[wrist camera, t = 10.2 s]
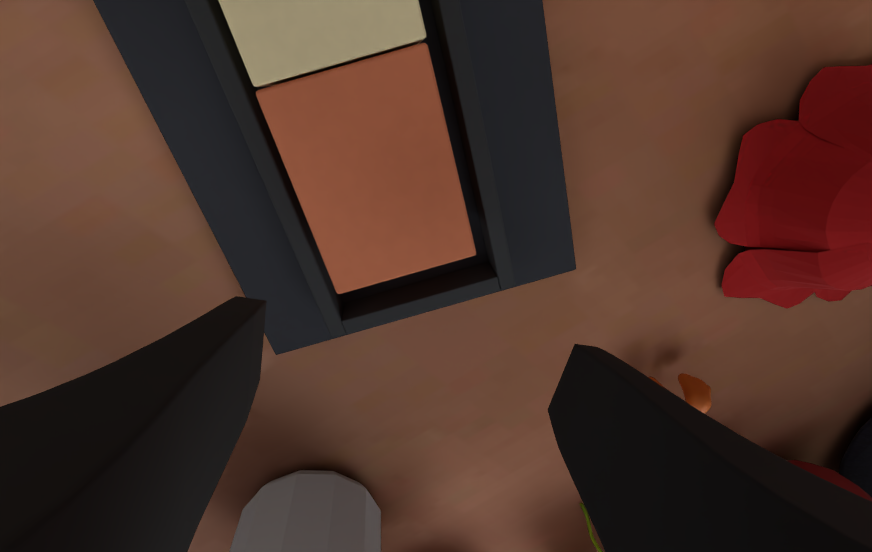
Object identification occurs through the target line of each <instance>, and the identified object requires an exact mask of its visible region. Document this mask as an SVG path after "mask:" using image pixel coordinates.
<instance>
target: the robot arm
mask: <svg viewBox="0 0 872 552" xmlns="http://www.w3.org/2000/svg"><path fill="white" fill-rule="evenodd" d="M265 313H266V300H259V299H252V298H245V297H237V296H236V297H234V298H232V299H230V300H228V301H226V302H225V303H223V304H221V305H220V306H218V307H216V308H214V309H213V310H211V311H209V312H208V313H206V314H204V315H202V316H201V317H199V318H197V319H195V320H194V321H192V322H190V323H188V324H187V325H185V326H183V327H181V328H179V329H178V330H176V331H174V332H172V333H171V334H169V335H167V336H165V337H163V338H161V339H159V340H157V341H155V342H153V343H151V344H149V345H147V346H145V347H143V348H141V349H139V350H137V351H135V352H133V353H131V354H129V355H127V356H125V357H123V358H121V359H119V360H117V361H115V362H113V363H111V364H109V365H106V366H104V367H102V368H100V369H97V370H95V371H93V372H91V373H88V374H86V375H84V376H81V377H79V378H76V379H74V380H71V381H69V382H66V383H64V384H61V385H59V386H56V387H54V388H51V389H49V390H46V391H44V392H41V393H39V394H36V395H33V396H31V397H28V398H25V399H22V400H19V401H16V402H13V403H10V404H7V405H4V406H1V407H0V552H187V551H188V548H189V546H190V543H191V541H192V539H193V536H194V534H195V532H196V529H197V527H198V524H199V522H200V520H201V518H202V516H203V513H204V511H205V509H206V507H207V505H208V503H209V501H210V498H211V496H212V494H213V492H214V490H215V488H216V486H217V484H218V481H219V479H220V477H221V475H222V473H223V471H224V469H225V466H226V464H227V462H228V460H229V458H230V456H231V454H232V451H233V449H234V447H235V445H236V443H237V441H238V438H239V436H240V434H241V432H242V430H243V427H244V425H245V423H246V421H247V418H248V415H249V412H250V409H251V406H252V403H253V400H254V396H255V393H256V390H257V387H258V384H259V380H260V372H261V360H262V348H263V336H264V325H265ZM548 413H549V416H550V420H551V424H552V427H553V431H554V434H555V437H556V441H557V444H558V447H559V450H560V452H561V454H562V457H563V459H564V461H565V463H566V466H567V468H568V470H569V472H570V475H571V477H572V479H573V481H574V484H575V486H576V488H577V490H578V492H579V494H580V497H581V499H582V501H583V503H584V505H585V507H586V510H587V512H588V514H589V516H590V518H591V521H592V523H593V525H594V527H595V529H596V532H597V534H598V536H599V538H600V540H601V543H602V545H603V548H604V550H605V552H872V501H869V500H867V499H865V498H863V497H861V496H858V495H856V494H854V493H852V492H850V491H848V490H846V489H844V488H841V487H839V486H837V485H835V484H833V483H831V482H829V481H827V480H824V479H822V478H820V477H818V476H816V475H814V474H812V473H810V472H808V471H806V470H804V469H802V468H800V467H798V466H796V465H794V464H792V463H790V462H788V461H786V460H785V459H783V458H781V457H779V456H777V455H775V454H773V453H772V452H770V451H768V450H766V449H764V448H762V447H760V446H759V445H757V444H755V443H753V442H751V441H749V440H748V439H746V438H744V437H742V436H741V435H739V434H737V433H735V432H734V431H732V430H730V429H729V428H727V427H726V426H724V425H722V424H721V423H719V422H717V421H716V420H714V419H712V418H711V417H709V416H707V415H706V414H704V413H702V412H701V411H699V410H698V409H696V408H695V407H693V406H691V405H690V404H688V403H687V402H685V401H684V400H682V399H681V398H679V397H677V396H676V395H674V394H673V393H671V392H670V391H668V390H667V389H665V388H664V387H662V386H661V385H659V384H658V383H656V382H655V381H653V380H652V379H650V378H648V377H647V376H645V375H644V374H642V373H641V372H639V371H638V370H636V369H635V368H633V367H632V366H630V365H628V364H627V363H625V362H624V361H622V360H620V359H619V358H617V357H615V356H614V355H612V354H610V353H608V352H606V351H604V350H602V349H600V348H598V347H593V346H586V345H579V344H575V345H574V347H573V349H572V352H571V354H570V357H569V359H568V362H567V364H566V366H565V369H564V371H563V374H562V376H561V379H560V381H559V383H558V386H557V388H556V391H555V393H554V396H553V398H552V400H551V403H550V405H549V408H548Z"/></svg>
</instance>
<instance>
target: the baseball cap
mask: <svg viewBox="0 0 872 552" xmlns="http://www.w3.org/2000/svg"><path fill="white" fill-rule="evenodd" d="M839 474H840V475H842V476H843V477H845V478H846V479H848V480H850V481H851V482H853V483H854V484H856V485H858V486H859V487H860V488H861V489H863V490H864V491H865V492H866V493H867V494H869V495H870V496H871V498H872V417H871V418H870V419H869V420H868V421H867V422H866V423H865V424H864V425H863V426H862V427H861V428H860V430H859V431H858V433H857V434H856V435H855V437H854V438H853V440H852V441H851V442H850V444H849V446H848V448H847V450H846V452H845V454H844V456H843V458H842V460H841V462H840V468H839Z"/></svg>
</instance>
